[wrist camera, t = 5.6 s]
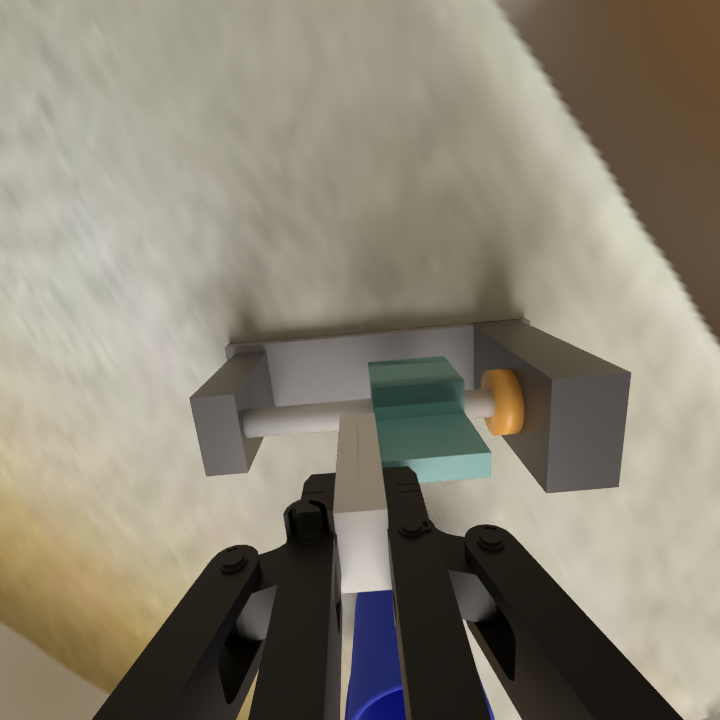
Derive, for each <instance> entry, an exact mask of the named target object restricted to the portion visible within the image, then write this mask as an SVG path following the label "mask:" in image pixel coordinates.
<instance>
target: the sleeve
mask: <svg viewBox="0 0 720 720" xmlns="http://www.w3.org/2000/svg"><path fill="white" fill-rule="evenodd" d="M368 369H369V381H370V393H371V399H372V402H373V413H375V421H376V428H377V436H378V443H379V450H380V458H381V465H382V468H391V467H403V466H409V467H410V468H411V469H412V470H413V471H414V472H415V473H416V474H417V478H418V482H419V483H427V482H438V481H450V480H462V479H473V478H485V477H491V451H490V450H489V448H488V447H487V445H486V444H485V442H484V441H483V439H482V438H481V436H480V435H479V433H478V432H477V430H476V429H475V427H474V426H473V424H472V423H471V421H470V420H469V418H468V417H467V415H466V414H465V381H464V380H463V378H462V377H461V376H460V375H459V373H458V372H457V371H456V370H455V369H454V367H453V366H452V365H451V364H450V363H449V361H448V360H447V359H446V358H445V356H435V357H423V358H412V359H400V360H389V361H377V362H368Z"/></svg>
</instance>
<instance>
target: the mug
mask: <svg viewBox="0 0 720 720" xmlns="http://www.w3.org/2000/svg"><path fill="white" fill-rule="evenodd" d="M479 679H480V677H479ZM480 682H481V680H480ZM481 686H482V689H483V692H484V696H485V699H486V703H487V706H488V710H489V713H490V716H491V720H495V719H494V715H493V712H492V709H491V707H490V704H489V701H488V699H487V696H486V693H485V691H484V688H483V685H482V683H481ZM345 720H406V713H405V704H404V695H403V687H402V678H401V669H400V660H399V651H398V642H397V633H396V627H395V622H394V607H393V592H392V590H381V591H368V592H358V595H357V600H356V609H355V623H354V637H353V651H352V665H351V676H350V681H349V686H348V693H347V700H346V711H345Z"/></svg>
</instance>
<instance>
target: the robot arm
mask: <svg viewBox="0 0 720 720" xmlns="http://www.w3.org/2000/svg"><path fill="white" fill-rule="evenodd" d="M283 515H284V522H285V528H286V535H287V542H286V543H285V544H284V545H282V546H281V547H279V548H277V549H275V550H272V551H269V552H266V553H263V554H260V555H258V551H257V550H256V549H255V548H254V547H252V546H248V545H235V546H232V547H229V548H226V549H225V550H223V551H221V552H219V553H218V554H217V555H216V556H215V557H214V558H213V559H212V560H211V561H210V562H209V564H208V565H207V566H206V568H205V569H204V570H203V572H202V573H201V574H200V576H199V577H198V578H197V580H196V581H195V582H194V584H193V585H192V586H191V588H190V589H189V590H188V592H187V593H186V594H185V596H184V597H183V598H182V600H181V601H180V602H179V604H178V605H177V606H176V608H175V609H174V610H173V612H172V613H171V615H170V616H169V617H168V619H167V620H166V621H165V623H164V624H163V625H162V627H161V628H160V629H159V631H158V632H157V633H156V635H155V636H154V637H153V639H152V640H151V641H150V643H149V644H148V645H147V647H146V648H145V649H144V651H143V652H142V653H141V655H140V656H139V657H138V659H137V660H136V661H135V663H134V664H133V665H132V667H131V668H130V669H129V671H128V672H127V673H126V675H125V676H124V677H123V679H122V680H121V681H120V683H119V684H118V685H117V687H116V688H115V689H114V691H113V692H112V693H111V695H110V696H109V697H108V699H107V700H106V702H105V703H104V704H103V706H102V707H101V708H100V709H99V711H98V712H97V713H96V715H95V716H94V718H93V719H92V720H236V718H237V716H238V714H239V712H240V709H241V707H242V705H243V703H244V701H245V698H246V696H247V694H248V692H249V689H250V687H251V685H252V683H253V681H254V678H255V676H256V674H257V672H258V669H259V672H258V677H257V681H256V686H255V691H254V695H253V700H252V705H251V709H250V714H249V718H248V720H340V693H341V650H342V601H341V590H342V593H355V592H368V591H381V590H392V592H393V607H394V622H395V627H396V633H397V642H398V651H399V660H400V669H401V678H402V687H403V695H404V704H405V713H406V720H491V716H490V713H489V710H488V706H487V703H486V699H485V696H484V692H483V689H482V686H481V682H480V679H479V675H478V672H477V668H476V665H475V662H474V658H473V655H472V651H471V648H470V644H469V641H468V638H467V634H466V631H465V627H464V624H463V620H462V619H464V620H466V622H467V625H468V627H469V629H470V631H471V633H472V634H473V636H474V638H475V639H476V641H477V643H478V645H479V646H480V648H481V650H482V651H483V653H484V655H485V657H486V658H487V660H488V662H489V663H490V665H491V667H492V669H493V670H494V672H495V674H496V675H497V677H498V679H499V681H500V682H501V684H502V686H503V687H504V689H505V691H506V693H507V694H508V696H509V698H510V700H511V701H512V703H513V705H514V706H515V708H516V710H517V712H518V713H519V715H520V717H521V718H522V720H683V719H682V717H681V716H680V715H679V714H678V713H677V712H676V711H675V710H674V709H673V708H672V707H671V706H670V705H669V703H668V702H667V701H666V700H665V699H664V698H663V697H662V696H661V695H660V694H659V693H658V692H657V690H656V689H655V688H654V687H653V686H652V685H651V684H650V683H649V682H648V681H647V680H646V679H645V678H644V676H643V675H642V674H641V673H640V672H639V671H638V670H637V669H636V668H635V667H634V666H633V665H632V664H631V662H630V661H629V660H628V659H627V658H626V657H625V656H624V655H623V654H622V653H621V652H620V651H619V650H618V648H617V647H616V646H615V645H614V644H613V643H612V642H611V641H610V640H609V639H608V638H607V637H606V635H605V634H604V633H603V632H602V631H601V630H600V629H599V628H598V627H597V626H596V625H595V624H594V623H593V621H592V620H591V619H590V618H589V617H588V616H587V615H586V614H585V613H584V612H583V611H582V610H581V609H580V607H579V606H578V605H577V604H576V603H575V602H574V601H573V600H572V599H571V598H570V597H569V596H568V595H567V593H566V592H565V591H564V590H563V589H562V588H561V587H560V586H559V585H558V584H557V583H556V582H555V580H554V579H553V578H552V577H551V576H550V575H549V574H548V573H547V572H546V571H545V570H544V569H543V568H542V566H541V565H540V564H539V563H538V562H537V561H536V560H535V559H534V558H533V557H532V556H531V555H530V554H529V552H528V551H527V550H526V549H525V548H524V547H523V546H522V545H521V544H520V543H519V542H518V541H517V539H516V538H515V537H514V536H513V535H512V534H510V533H509V532H508V531H506V530H505V529H503V528H500V527H498V526H494V525H487V524H485V525H477V526H475V527H472V528H470V529H469V530H468V531H467V533H466V534H465V537H461V536H455V535H450V534H446V533H444V532H442V531H440V530H438V529H437V528H435V526H434V524H433V522H432V521H431V520H429V517H428V514H427V510H426V507H425V503H424V499H423V496H422V492H421V489H420V485H419V482H418V478H417V474H416V473H415V472H414V471H413V470H412V469H411V468H410V467H409V466H403V467H391V468H382V465H381V458H380V450H379V443H378V436H377V428H376V421H375V413H365V414H352V415H340V420H339V435H338V449H337V463H336V473H327V474H314V475H311V476H310V477H309V478H308V479H307V480H306V482H305V483H304V486H303V491H302V496H301V500H298V501H296V502H294V503H292V504H291V505H290V506H289V507H287V508H286V510H285V512H284V514H283Z"/></svg>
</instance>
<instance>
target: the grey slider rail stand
mask: <svg viewBox="0 0 720 720" xmlns="http://www.w3.org/2000/svg"><path fill="white" fill-rule="evenodd" d="M225 350H226V355H227V362H226V363H225V364H224V365H223V366H222V367H221V368H220V369H219V370H218V371H217V372H216V373H215V374H214V375H213V376H212V377H211V378H210V379H209V380H208V381H207V382H206V383H205V384H204V385H203V386H201V387H200V388H199V389H198V390H197V391H196V392H195V393H194V394H193V395H192V396H191V397H190V398H189V399H190V404H191V408H192V413H193V418H194V422H195V427H196V431H197V436H198V441H199V445H200V450H201V454H202V459H203V464H204V468H205V473H206V476H215V475H227V474H238V473H248V471H249V469H250V467H251V465H252V462H253V460H254V458H255V456H256V453H257V451H258V449H259V447H260V444H261V442H262V440H263V438H264V437H266V436H277V435H289V434H300V433H312V432H323V431H335V430H339V420H340V415H352V414H365V413H373V402H372V399H371V393H370V381H369V369H368V362H377V361H389V360H400V359H412V358H423V357H435V356H445V358H446V359H447V360H448V361H449V363H450V364H451V365H452V366H453V367H454V369H455V370H456V371H457V372H458V373H459V375H460V376H461V377H462V378H463V380H464V381H465V414H466V415H467V417H468V418H469V419H474V418H484V419H485V422H486V425H487V427H488V429H489V431H490V432H491V433H492V434H493V435H495V436H496V435H501V436H502V437H503V438H504V440H505V441H506V442H507V443H508V445H509V446H510V447H511V449H512V450H513V451H514V452H515V454H516V455H517V456H518V458H519V459H520V460H521V461H522V463H523V464H524V465H525V467H526V468H527V469H528V470H529V472H530V473H531V474H532V476H533V477H534V478H535V479H536V481H537V482H538V483H539V485H540V486H541V487H542V488H543V490H544V491H545V492H546V493H555V492H566V491H578V490H590V489H601V488H613V487H619V478H620V469H621V460H622V451H623V442H624V433H625V424H626V415H627V406H628V397H629V388H630V379H631V372H629V371H627V370H625V369H622V368H620V367H618V366H616V365H614V364H612V363H610V362H607V361H605V360H603V359H601V358H599V357H597V356H595V355H592V354H590V353H588V352H586V351H584V350H582V349H580V348H577V347H575V346H573V345H571V344H569V343H567V342H565V341H562V340H560V339H558V338H556V337H554V336H552V335H550V334H547V333H545V332H543V331H541V330H539V329H537V328H535V327H532V326H530V321H529V320H527V319H514V320H503V321H491V322H479V323H468V324H456V325H445V326H433V327H422V328H410V329H399V330H387V331H376V332H364V333H353V334H341V335H329V336H318V337H306V338H295V339H283V340H272V341H260V342H249V343H237V344H228V345H227V346H226V347H225Z"/></svg>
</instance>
